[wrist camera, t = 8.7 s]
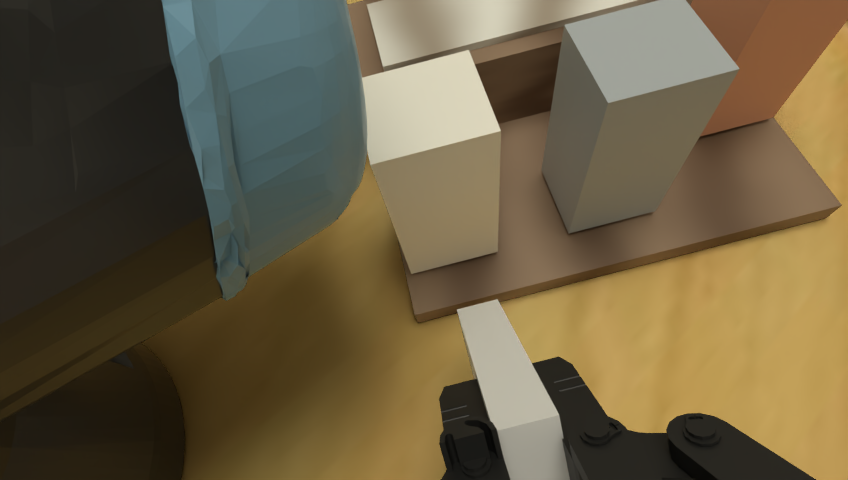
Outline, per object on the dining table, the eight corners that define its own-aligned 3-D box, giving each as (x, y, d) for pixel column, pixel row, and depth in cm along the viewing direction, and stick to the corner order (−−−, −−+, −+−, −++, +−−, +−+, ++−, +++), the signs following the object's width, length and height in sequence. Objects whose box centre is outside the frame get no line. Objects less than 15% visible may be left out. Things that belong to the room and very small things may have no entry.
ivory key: (411, 274, 23) (370, 164, 15) (396, 207, 25) (352, 79, 17) (497, 251, 23) (501, 131, 15) (475, 187, 25) (468, 49, 17)
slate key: (568, 233, 23) (608, 102, 15) (541, 170, 25) (564, 25, 17) (655, 211, 23) (740, 69, 15) (621, 149, 25) (681, -6, 17)
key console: (418, 322, 24) (395, 271, 18) (364, 86, 32) (337, 0, 26) (826, 217, 24) (931, 133, 18) (668, 7, 32) (706, -97, 26)
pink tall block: (691, 138, 25) (784, -24, 17) (657, 85, 27) (726, -82, 19) (772, 117, 25) (904, -55, 17) (732, 66, 27) (833, -110, 19)
